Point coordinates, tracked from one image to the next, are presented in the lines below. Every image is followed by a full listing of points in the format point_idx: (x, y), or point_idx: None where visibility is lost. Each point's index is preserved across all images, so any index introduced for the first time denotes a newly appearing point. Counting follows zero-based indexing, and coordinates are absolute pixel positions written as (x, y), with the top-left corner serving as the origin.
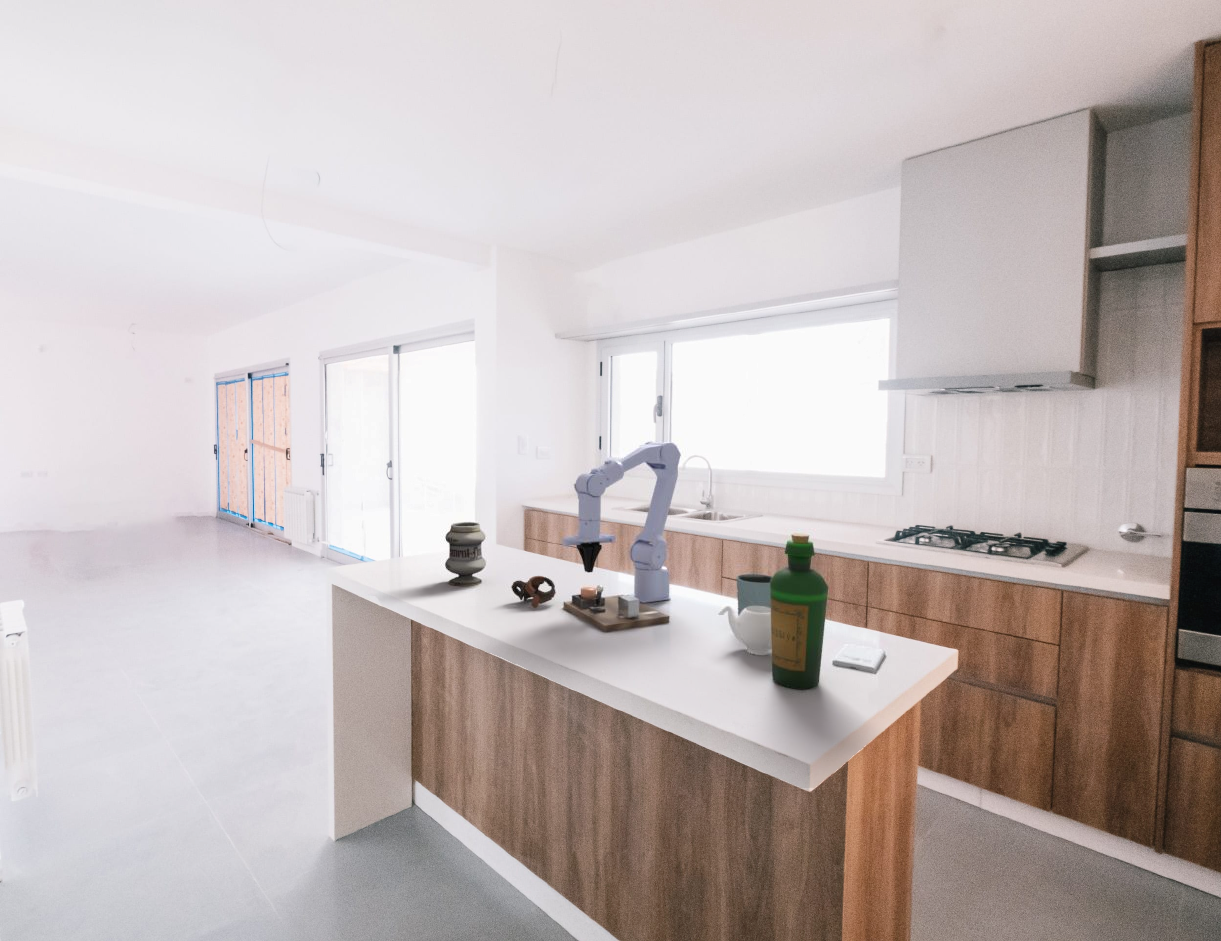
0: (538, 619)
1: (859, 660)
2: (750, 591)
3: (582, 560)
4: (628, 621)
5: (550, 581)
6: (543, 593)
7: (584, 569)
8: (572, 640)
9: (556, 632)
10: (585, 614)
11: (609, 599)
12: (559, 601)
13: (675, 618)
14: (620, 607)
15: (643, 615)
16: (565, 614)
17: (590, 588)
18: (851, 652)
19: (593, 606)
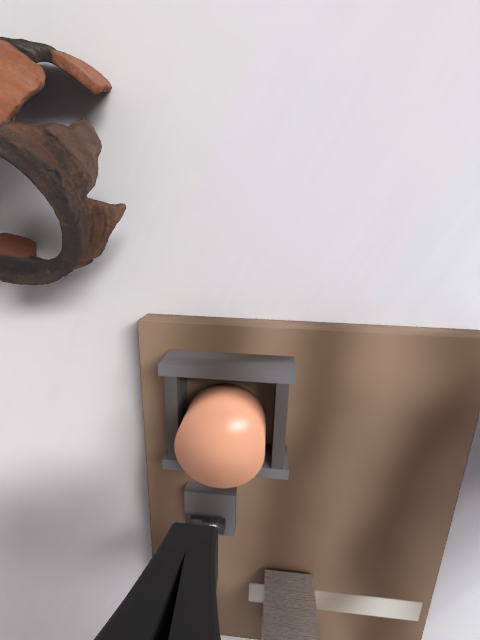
0: (5, 408)
1: None
2: None
3: (112, 617)
4: (248, 633)
5: (44, 195)
6: (13, 279)
7: (166, 534)
8: (51, 608)
9: (28, 542)
10: (150, 514)
11: (368, 385)
12: (173, 197)
13: (460, 618)
14: (263, 610)
15: (339, 615)
16: (119, 401)
17: (236, 446)
18: None
19: (191, 516)
